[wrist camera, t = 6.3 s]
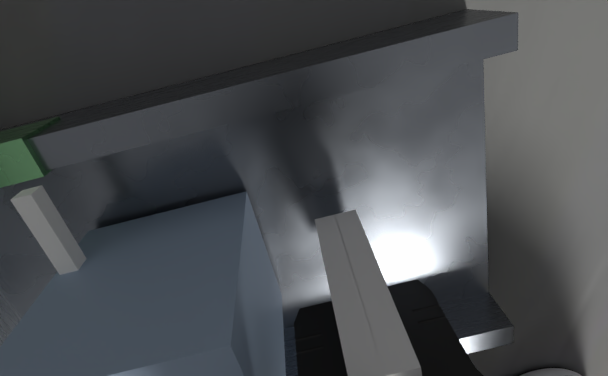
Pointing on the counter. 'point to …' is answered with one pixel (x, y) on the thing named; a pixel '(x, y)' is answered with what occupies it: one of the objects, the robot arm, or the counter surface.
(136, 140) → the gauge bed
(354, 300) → the robot arm
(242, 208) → the pale blue cube
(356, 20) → the counter surface
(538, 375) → the supplement bottle
